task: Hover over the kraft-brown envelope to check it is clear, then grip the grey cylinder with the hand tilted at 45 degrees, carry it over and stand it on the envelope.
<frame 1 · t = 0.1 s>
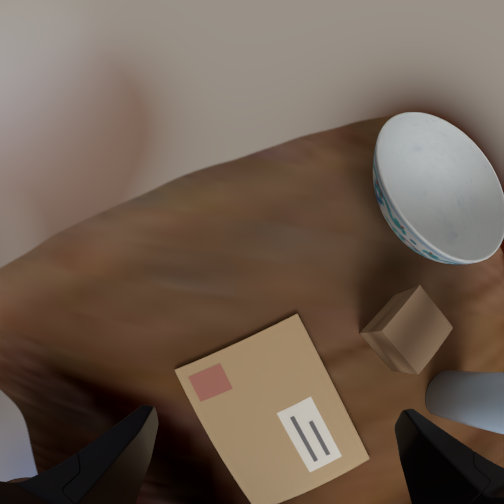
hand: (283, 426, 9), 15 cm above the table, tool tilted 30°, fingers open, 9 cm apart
grey cylinder: (443, 393, 22), on the table
walnut block: (393, 332, 24), on the table
envelope: (277, 423, 22), on the table
chinaware: (413, 214, 27), on the table
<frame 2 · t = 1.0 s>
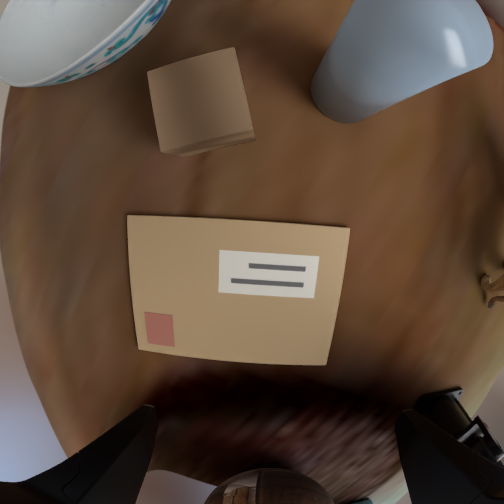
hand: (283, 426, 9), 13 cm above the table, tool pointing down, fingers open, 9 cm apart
grey cylinder: (343, 91, 17), on the table
walnut block: (212, 114, 18), on the table
envelope: (232, 296, 22), on the table
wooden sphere: (268, 474, 28), on the table
chinaware: (116, 25, 16), on the table
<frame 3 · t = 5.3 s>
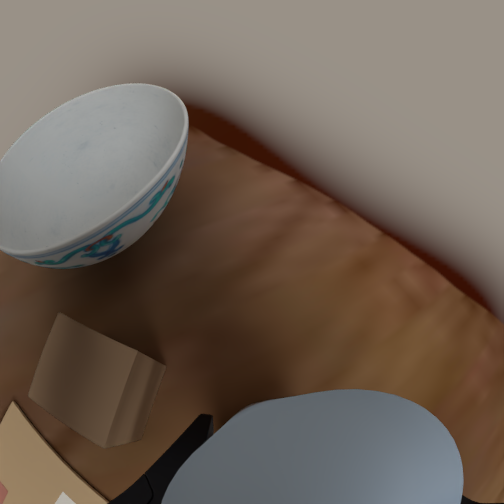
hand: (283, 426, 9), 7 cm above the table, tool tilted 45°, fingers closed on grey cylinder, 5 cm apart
grey cylinder: (267, 440, 14), on the table, touching gripper
walnut block: (118, 387, 15), on the table
chinaware: (111, 220, 21), on the table
when the fingers open (8 cm above the table, at t = 9.0 s): grey cylinder drops 1 cm, resting on envelope.
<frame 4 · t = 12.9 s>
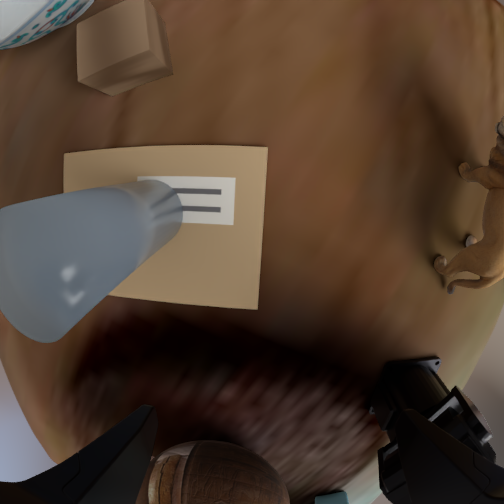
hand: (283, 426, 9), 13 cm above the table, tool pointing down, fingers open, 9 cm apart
lion figurine: (462, 201, 19), on the table
data package: (328, 503, 31), on the table
grey cylinder: (150, 213, 20), resting on envelope
walnut block: (138, 58, 17), on the table
envelope: (151, 226, 20), on the table
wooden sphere: (219, 451, 27), on the table
chinaware: (72, 1, 15), on the table
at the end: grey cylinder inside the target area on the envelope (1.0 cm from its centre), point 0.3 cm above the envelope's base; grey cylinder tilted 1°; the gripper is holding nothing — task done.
